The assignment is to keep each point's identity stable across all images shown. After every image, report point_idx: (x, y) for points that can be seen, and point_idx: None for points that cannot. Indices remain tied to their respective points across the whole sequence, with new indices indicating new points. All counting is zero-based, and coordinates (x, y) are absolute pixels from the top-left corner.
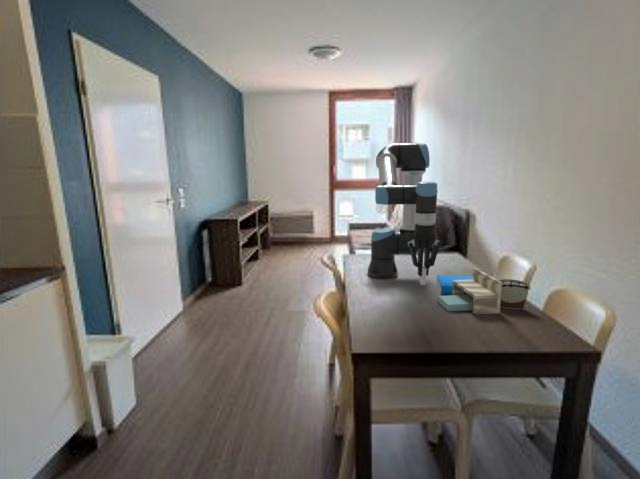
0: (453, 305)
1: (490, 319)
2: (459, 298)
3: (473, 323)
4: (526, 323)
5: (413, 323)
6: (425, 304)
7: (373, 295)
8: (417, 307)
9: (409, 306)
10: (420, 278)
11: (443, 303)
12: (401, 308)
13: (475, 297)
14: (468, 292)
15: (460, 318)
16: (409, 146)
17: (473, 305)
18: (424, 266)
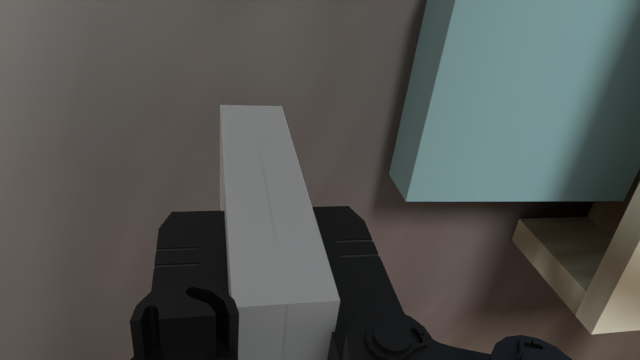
0: (445, 197)
1: (533, 301)
2: (589, 82)
3: None
4: (637, 341)
5: (59, 336)
6: (286, 6)
7: None
8: (179, 69)
9: (104, 30)
10: (222, 175)
11: (417, 106)
12: (5, 69)
13: (582, 321)
14: (630, 229)
15: (392, 284)
16: None
17: (547, 257)
18: (334, 342)
